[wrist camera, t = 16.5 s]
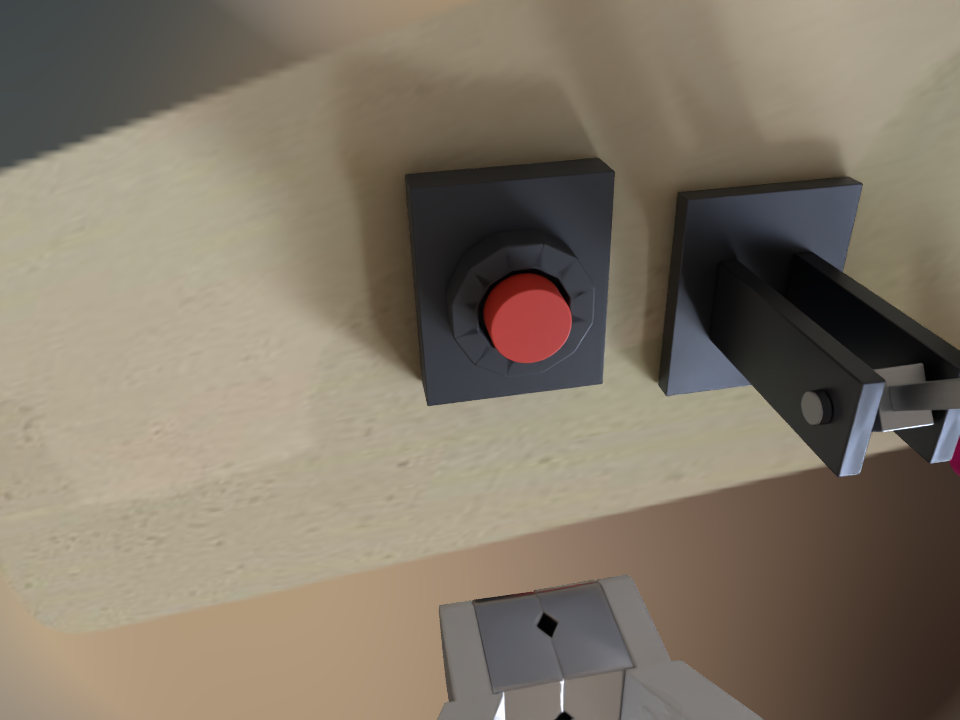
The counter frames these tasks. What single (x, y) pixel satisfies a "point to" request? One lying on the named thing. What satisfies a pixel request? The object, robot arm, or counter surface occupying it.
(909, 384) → the lever
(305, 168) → the counter surface
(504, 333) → the button
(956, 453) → the pepper mill
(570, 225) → the control block
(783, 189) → the bracket
